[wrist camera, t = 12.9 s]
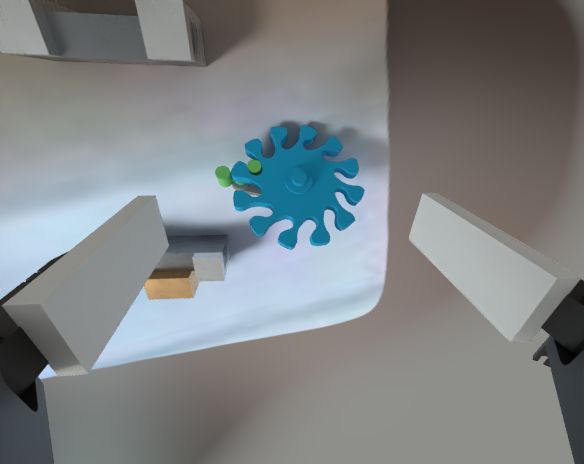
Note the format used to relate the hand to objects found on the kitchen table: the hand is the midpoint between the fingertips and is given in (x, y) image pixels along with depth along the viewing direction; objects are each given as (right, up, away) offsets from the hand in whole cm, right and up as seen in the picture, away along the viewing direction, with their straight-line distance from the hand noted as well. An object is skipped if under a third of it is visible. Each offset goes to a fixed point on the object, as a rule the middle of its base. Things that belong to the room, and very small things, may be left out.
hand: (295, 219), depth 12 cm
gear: (-1, +5, +9) cm, 11 cm away
